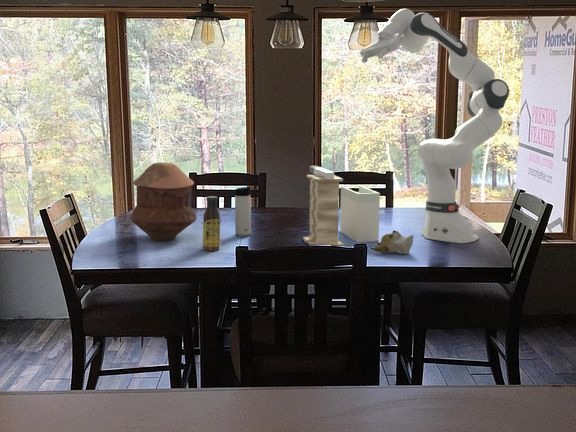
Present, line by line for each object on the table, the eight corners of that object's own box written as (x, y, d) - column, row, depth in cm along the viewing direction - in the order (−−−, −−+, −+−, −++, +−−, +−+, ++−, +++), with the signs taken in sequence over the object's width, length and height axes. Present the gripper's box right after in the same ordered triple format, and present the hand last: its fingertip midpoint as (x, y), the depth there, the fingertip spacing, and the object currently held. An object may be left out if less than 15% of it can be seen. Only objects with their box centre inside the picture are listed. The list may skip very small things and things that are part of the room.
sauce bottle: (205, 252, 236) (204, 198, 232) (200, 248, 242) (199, 196, 238) (222, 250, 239) (222, 197, 235) (217, 247, 244) (216, 194, 240)
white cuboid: (340, 231, 272) (341, 186, 268) (360, 230, 274) (361, 185, 271) (356, 242, 253) (358, 193, 249) (378, 240, 255) (379, 193, 252)
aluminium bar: (309, 172, 259) (309, 166, 259) (316, 171, 260) (316, 165, 259) (326, 179, 238) (326, 172, 238) (334, 179, 239) (334, 172, 238)
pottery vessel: (126, 234, 265) (123, 160, 260) (188, 229, 275) (186, 158, 269) (137, 248, 242) (133, 168, 236) (203, 242, 251) (202, 165, 245)
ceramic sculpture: (410, 233, 228) (368, 232, 233) (410, 257, 229) (369, 256, 235) (416, 228, 237) (376, 227, 243) (416, 251, 239) (377, 249, 244)
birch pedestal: (302, 239, 256) (303, 174, 251) (331, 238, 259) (332, 173, 254) (314, 249, 241) (315, 180, 236) (345, 247, 244) (346, 179, 239)
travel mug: (249, 237, 260) (249, 188, 256) (233, 236, 261) (232, 187, 257) (253, 234, 266) (253, 185, 262) (237, 233, 267) (237, 185, 263)
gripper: (410, 38, 260) (393, 60, 255) (375, 48, 277) (359, 69, 271) (402, 25, 257) (385, 47, 252) (367, 37, 274) (350, 57, 269)
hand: (371, 59), depth 262 cm, fingers open, 8 cm apart
